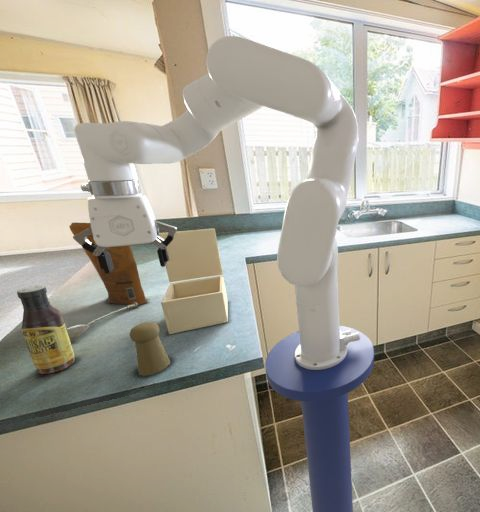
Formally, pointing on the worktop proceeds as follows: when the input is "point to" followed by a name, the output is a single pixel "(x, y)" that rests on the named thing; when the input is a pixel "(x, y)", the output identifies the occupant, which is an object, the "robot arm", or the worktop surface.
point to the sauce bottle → (44, 331)
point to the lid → (193, 255)
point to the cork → (149, 349)
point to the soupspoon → (80, 329)
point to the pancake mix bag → (117, 271)
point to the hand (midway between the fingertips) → (137, 268)
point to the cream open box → (195, 304)
